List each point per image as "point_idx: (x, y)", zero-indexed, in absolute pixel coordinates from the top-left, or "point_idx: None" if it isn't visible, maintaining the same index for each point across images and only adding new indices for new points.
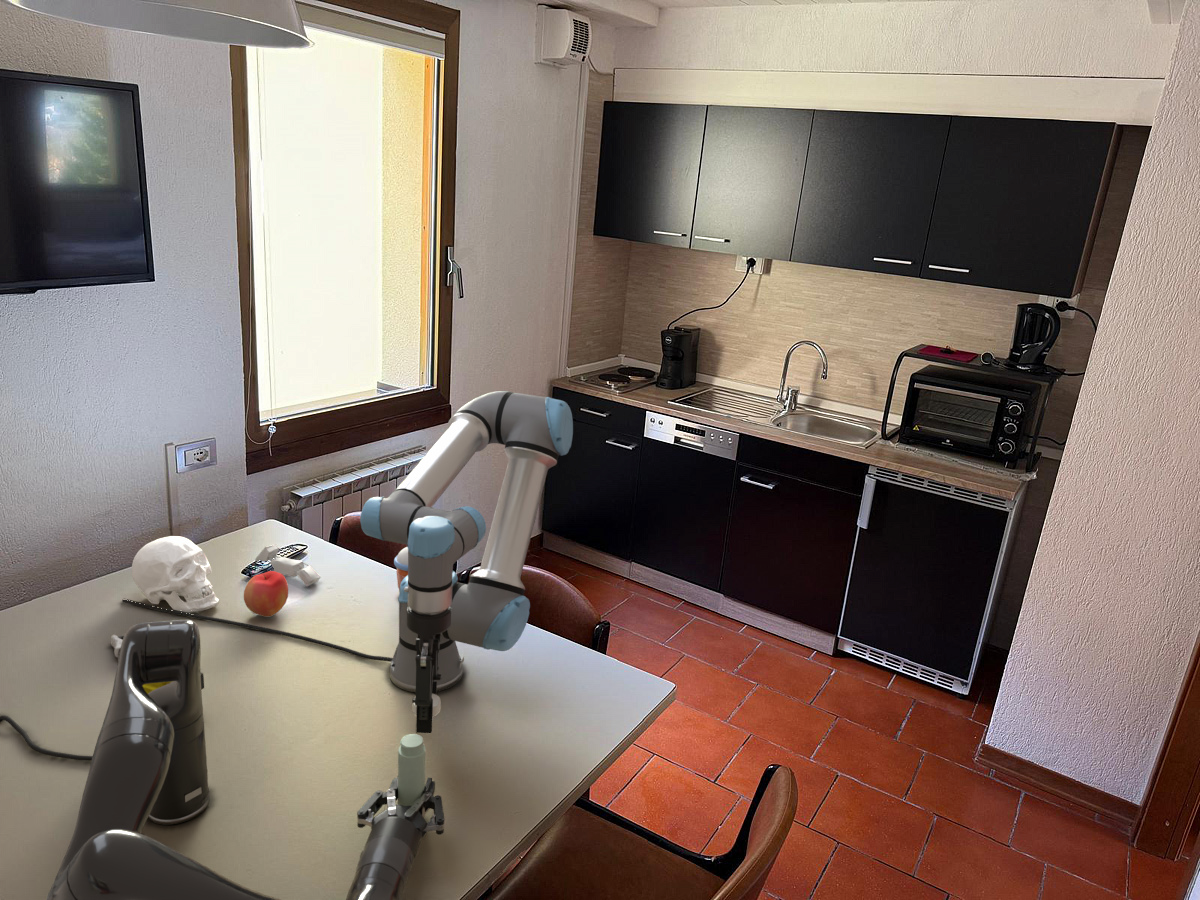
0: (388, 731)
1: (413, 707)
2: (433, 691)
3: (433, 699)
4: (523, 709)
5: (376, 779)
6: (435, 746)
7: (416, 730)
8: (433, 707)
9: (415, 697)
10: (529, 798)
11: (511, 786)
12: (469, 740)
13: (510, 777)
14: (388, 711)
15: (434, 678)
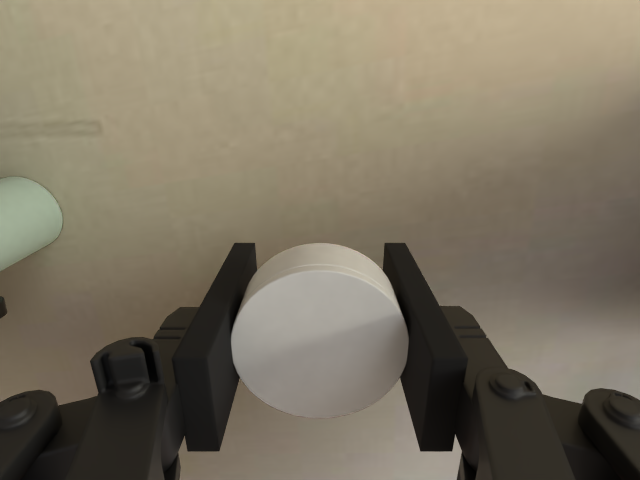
0: (480, 58)
1: (277, 267)
2: (408, 386)
3: (333, 385)
4: None
5: (204, 66)
6: (385, 236)
7: (232, 250)
8: (251, 391)
9: (353, 282)
10: (192, 456)
11: (228, 424)
12: None
13: (260, 421)
14: (618, 32)
15: (461, 463)
